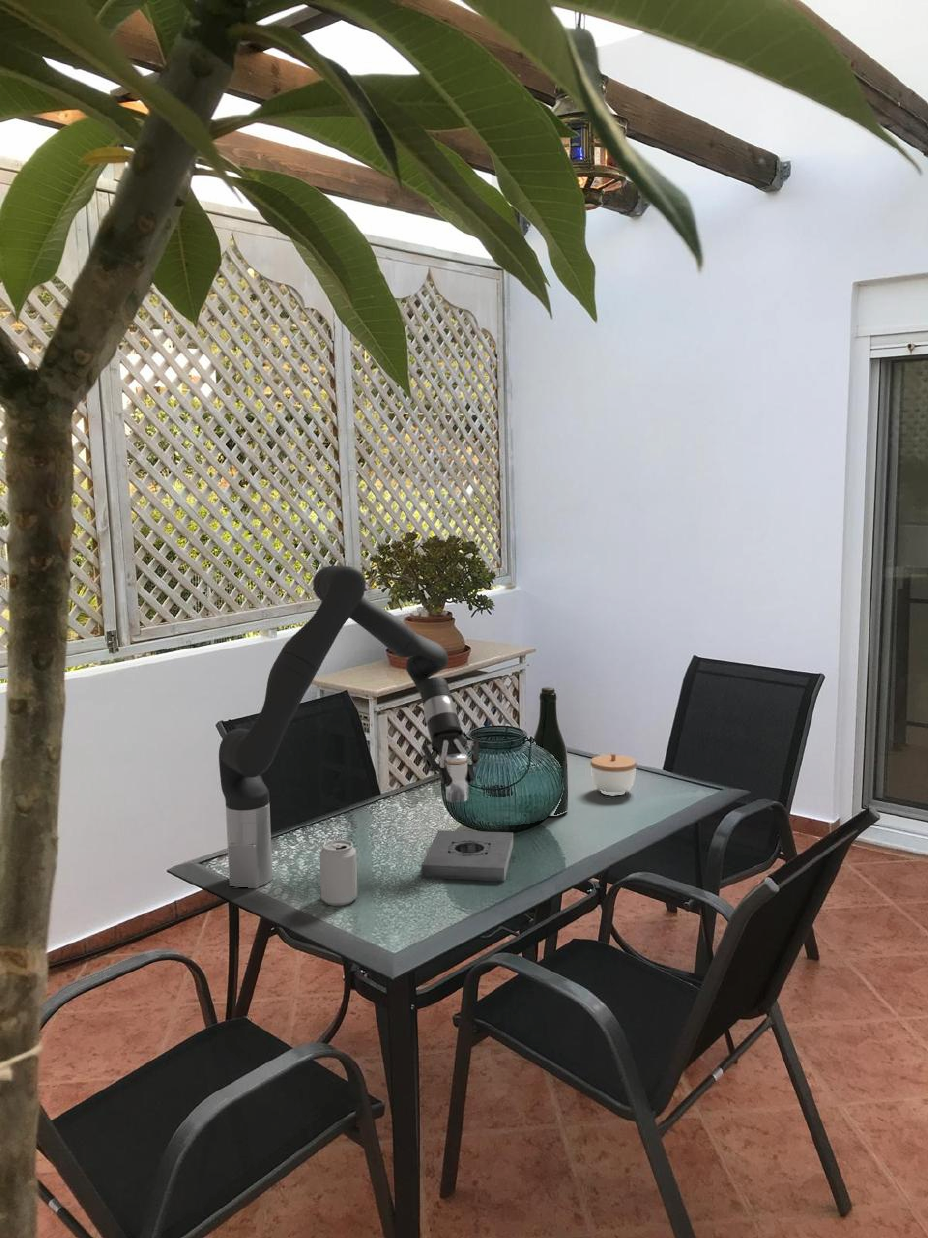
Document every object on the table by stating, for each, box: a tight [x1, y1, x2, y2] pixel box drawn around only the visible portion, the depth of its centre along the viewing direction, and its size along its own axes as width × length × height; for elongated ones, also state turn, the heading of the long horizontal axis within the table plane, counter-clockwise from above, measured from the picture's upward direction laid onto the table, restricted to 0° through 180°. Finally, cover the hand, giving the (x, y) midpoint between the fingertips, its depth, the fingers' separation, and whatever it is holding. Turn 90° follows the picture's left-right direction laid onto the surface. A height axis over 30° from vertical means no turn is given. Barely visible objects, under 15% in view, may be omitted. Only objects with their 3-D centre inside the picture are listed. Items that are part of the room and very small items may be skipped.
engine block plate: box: [421, 829, 514, 882], centre depth 220 cm, size 22×18×3 cm
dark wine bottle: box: [532, 686, 570, 815], centre depth 251 cm, size 10×10×33 cm
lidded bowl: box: [590, 752, 637, 792], centre depth 268 cm, size 13×13×11 cm
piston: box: [445, 753, 469, 803], centre depth 218 cm, size 5×5×10 cm
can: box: [319, 839, 358, 907], centre depth 199 cm, size 8×8×12 cm
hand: (459, 783), depth 217 cm, fingers closed on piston, 5 cm apart
